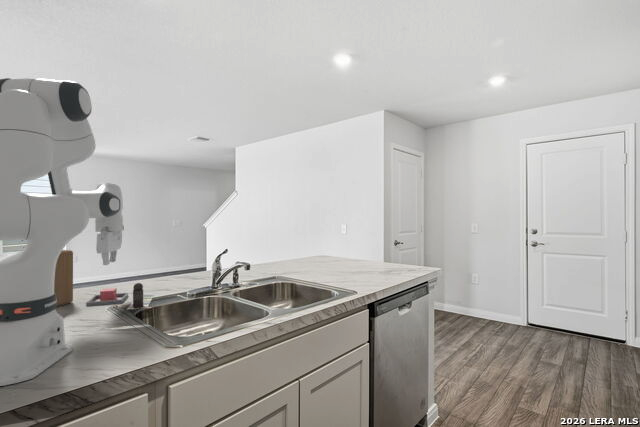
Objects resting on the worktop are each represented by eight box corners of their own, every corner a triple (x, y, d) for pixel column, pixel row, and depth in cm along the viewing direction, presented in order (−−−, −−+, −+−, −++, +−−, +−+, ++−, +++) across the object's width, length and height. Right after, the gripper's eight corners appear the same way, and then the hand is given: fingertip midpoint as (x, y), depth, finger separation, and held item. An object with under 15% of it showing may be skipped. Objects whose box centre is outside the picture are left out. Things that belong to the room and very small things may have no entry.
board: (148, 309, 116) (148, 307, 116) (125, 311, 114) (125, 309, 114) (155, 296, 135) (155, 294, 135) (135, 297, 133) (135, 295, 133)
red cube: (113, 302, 124) (113, 290, 124) (100, 303, 122) (100, 291, 122) (116, 299, 128) (116, 288, 128) (103, 300, 126) (103, 289, 126)
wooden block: (47, 310, 115) (47, 253, 115) (24, 308, 117) (24, 252, 117) (74, 302, 125) (74, 250, 125) (52, 300, 127) (52, 249, 127)
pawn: (142, 307, 116) (142, 283, 116) (132, 308, 115) (132, 284, 115) (143, 305, 119) (143, 281, 119) (133, 306, 118) (133, 282, 118)
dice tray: (121, 305, 122) (122, 299, 122) (86, 308, 118) (86, 302, 118) (127, 297, 132) (127, 292, 132) (95, 300, 128) (95, 295, 128)
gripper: (111, 227, 116) (112, 266, 116) (124, 226, 135) (125, 259, 135) (90, 227, 114) (91, 267, 114) (106, 226, 133) (107, 260, 133)
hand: (109, 263), depth 125 cm, fingers open, 8 cm apart
